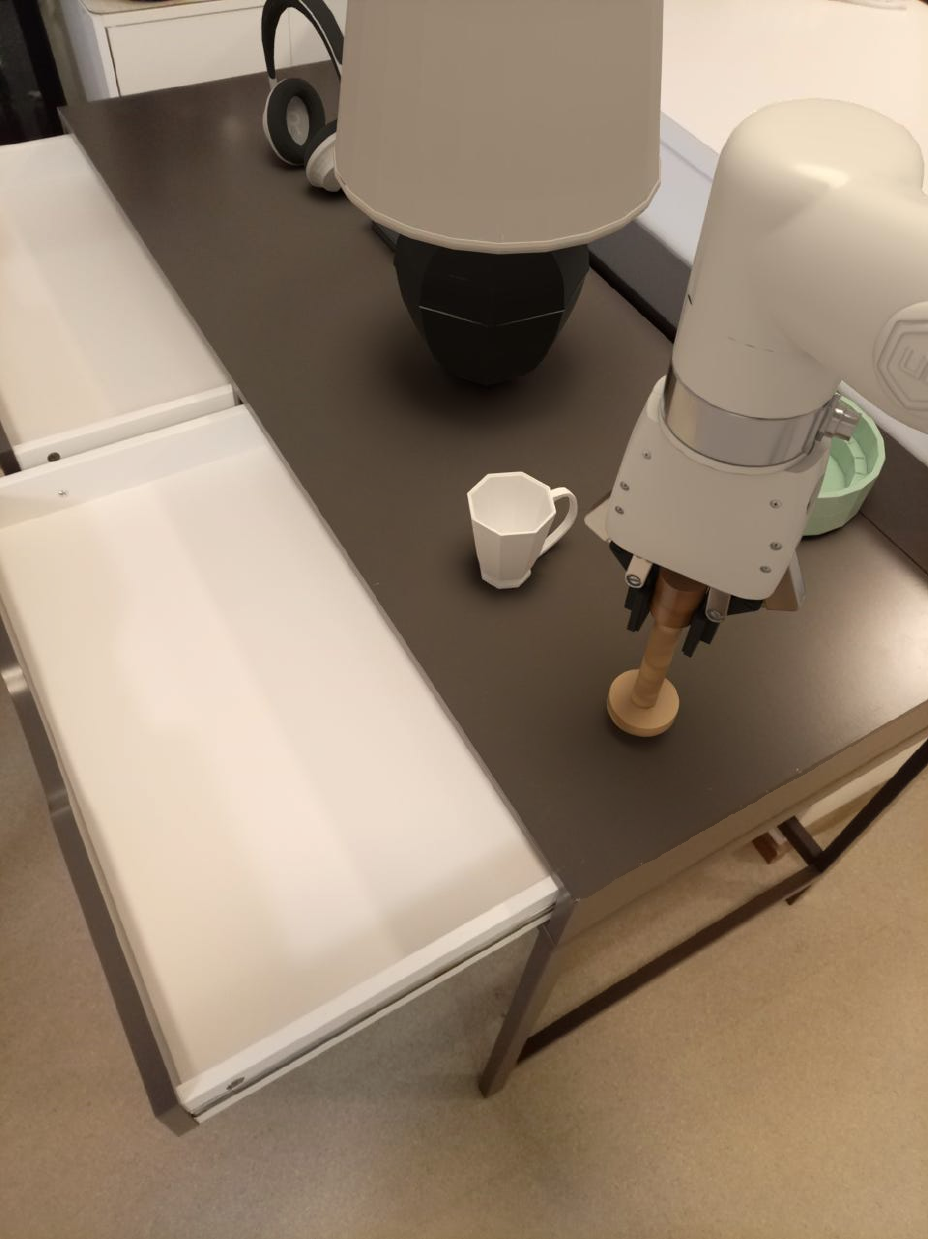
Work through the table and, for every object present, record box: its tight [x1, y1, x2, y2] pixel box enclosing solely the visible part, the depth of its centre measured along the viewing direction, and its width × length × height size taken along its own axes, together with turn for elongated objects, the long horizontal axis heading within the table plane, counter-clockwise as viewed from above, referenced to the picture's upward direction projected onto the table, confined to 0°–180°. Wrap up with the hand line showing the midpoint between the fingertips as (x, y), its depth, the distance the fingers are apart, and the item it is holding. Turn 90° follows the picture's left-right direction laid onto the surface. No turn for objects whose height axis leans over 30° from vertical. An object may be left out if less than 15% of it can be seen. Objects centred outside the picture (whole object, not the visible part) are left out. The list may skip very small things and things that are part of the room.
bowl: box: [802, 391, 886, 537], centre depth 79 cm, size 15×15×6 cm
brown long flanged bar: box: [606, 566, 710, 738], centre depth 58 cm, size 5×5×15 cm
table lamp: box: [333, 0, 665, 386], centre depth 74 cm, size 27×27×40 cm
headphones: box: [260, 0, 345, 193], centre depth 103 cm, size 19×8×20 cm, turn 38°
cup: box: [466, 471, 579, 590], centre depth 72 cm, size 7×10×8 cm
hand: (667, 626), depth 57 cm, fingers closed on brown long flanged bar, 3 cm apart
